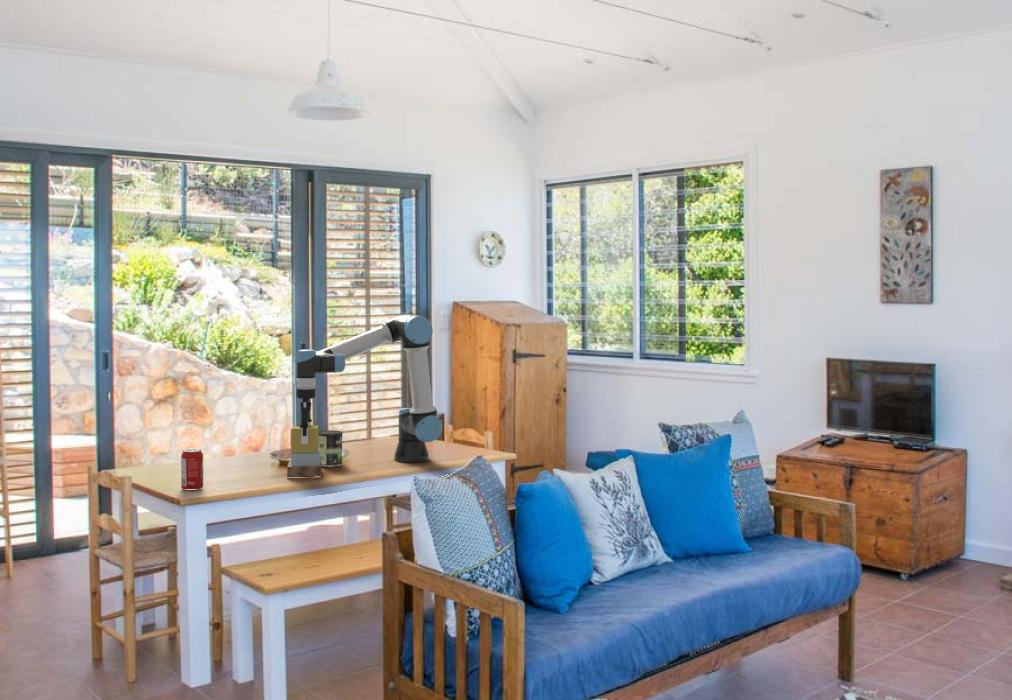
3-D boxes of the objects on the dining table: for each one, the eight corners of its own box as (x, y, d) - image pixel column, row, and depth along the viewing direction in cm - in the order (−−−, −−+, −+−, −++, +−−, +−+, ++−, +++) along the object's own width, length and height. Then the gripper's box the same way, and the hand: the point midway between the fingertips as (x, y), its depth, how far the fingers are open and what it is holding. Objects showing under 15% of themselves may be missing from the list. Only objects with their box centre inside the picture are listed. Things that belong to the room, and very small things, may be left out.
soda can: (177, 491, 376) (177, 451, 375) (187, 486, 384) (187, 447, 383) (197, 492, 375) (197, 452, 374) (206, 487, 383) (206, 448, 382)
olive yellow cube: (293, 448, 415) (293, 424, 414) (320, 448, 415) (320, 424, 415) (290, 453, 404) (290, 428, 403) (317, 453, 405) (317, 428, 404)
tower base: (321, 472, 418) (321, 460, 417) (320, 479, 405) (320, 466, 404) (289, 472, 416) (289, 460, 415) (287, 479, 403) (287, 466, 403)
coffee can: (345, 463, 436) (346, 430, 435) (337, 467, 426) (337, 434, 424) (323, 461, 438) (323, 429, 437) (313, 466, 428) (314, 433, 427)
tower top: (319, 460, 417) (319, 448, 417) (319, 465, 406) (319, 453, 406) (291, 461, 415) (291, 448, 414) (291, 466, 404) (291, 453, 404)
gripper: (298, 384, 419) (298, 435, 421) (294, 391, 395) (293, 446, 397) (317, 384, 421) (316, 435, 422) (313, 391, 396) (313, 446, 398)
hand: (305, 440), depth 410 cm, fingers open, 12 cm apart
